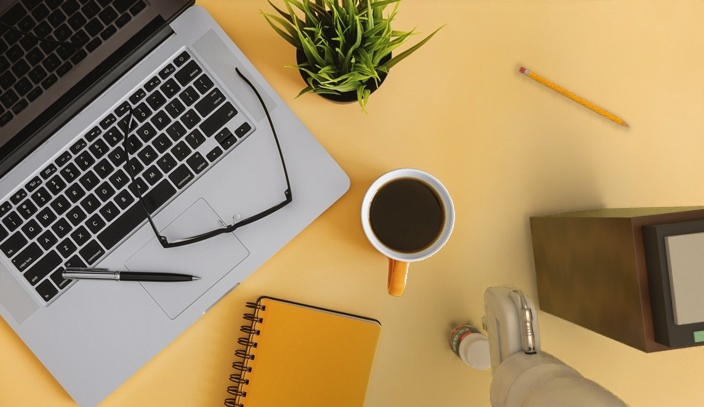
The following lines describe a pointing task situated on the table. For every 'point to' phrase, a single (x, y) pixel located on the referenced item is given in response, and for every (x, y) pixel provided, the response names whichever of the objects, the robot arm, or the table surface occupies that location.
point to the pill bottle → (470, 347)
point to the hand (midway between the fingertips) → (492, 359)
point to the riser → (601, 269)
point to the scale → (676, 281)
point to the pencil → (573, 96)
